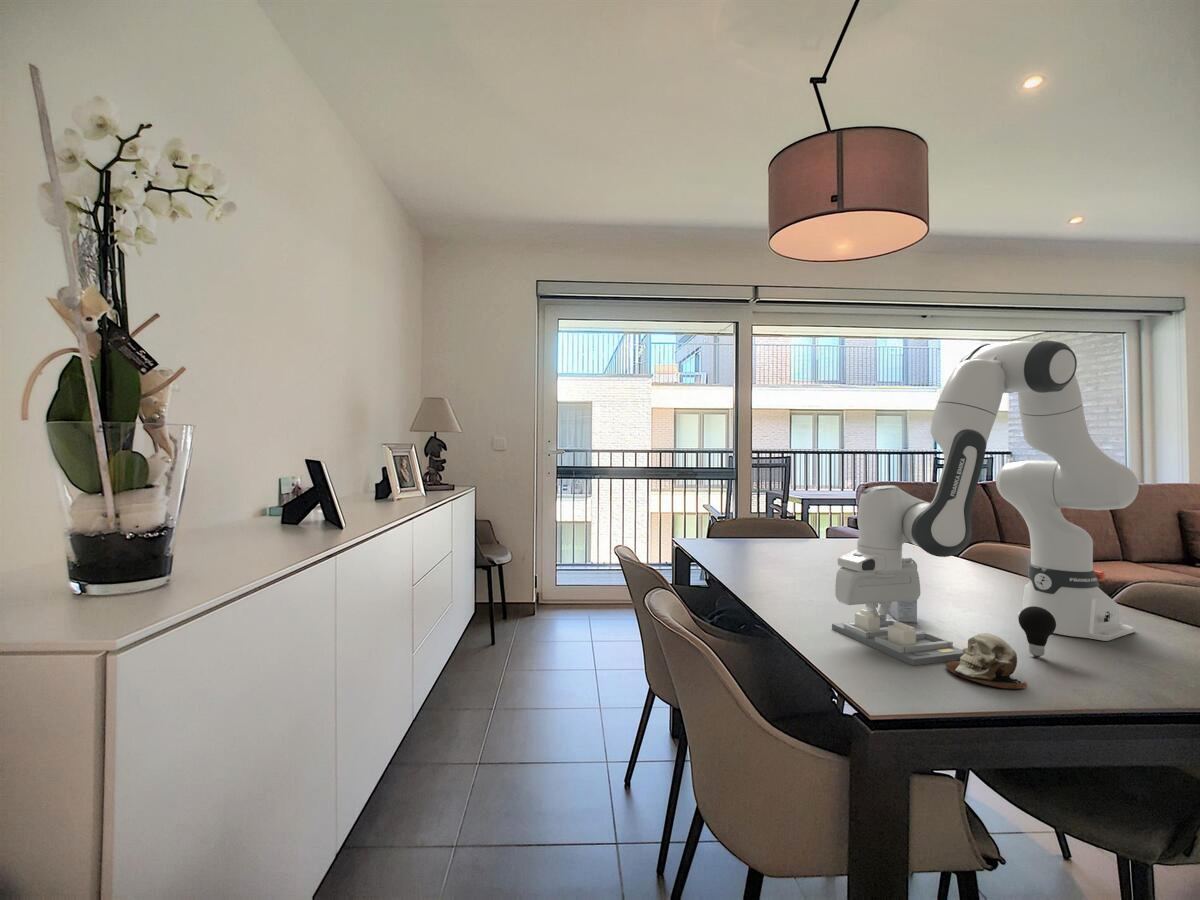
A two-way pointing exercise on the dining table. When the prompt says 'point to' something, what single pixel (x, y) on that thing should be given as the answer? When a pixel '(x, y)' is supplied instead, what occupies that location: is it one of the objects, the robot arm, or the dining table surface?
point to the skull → (988, 662)
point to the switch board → (915, 654)
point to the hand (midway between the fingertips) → (878, 622)
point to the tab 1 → (867, 621)
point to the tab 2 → (901, 634)
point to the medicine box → (904, 611)
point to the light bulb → (1037, 628)
